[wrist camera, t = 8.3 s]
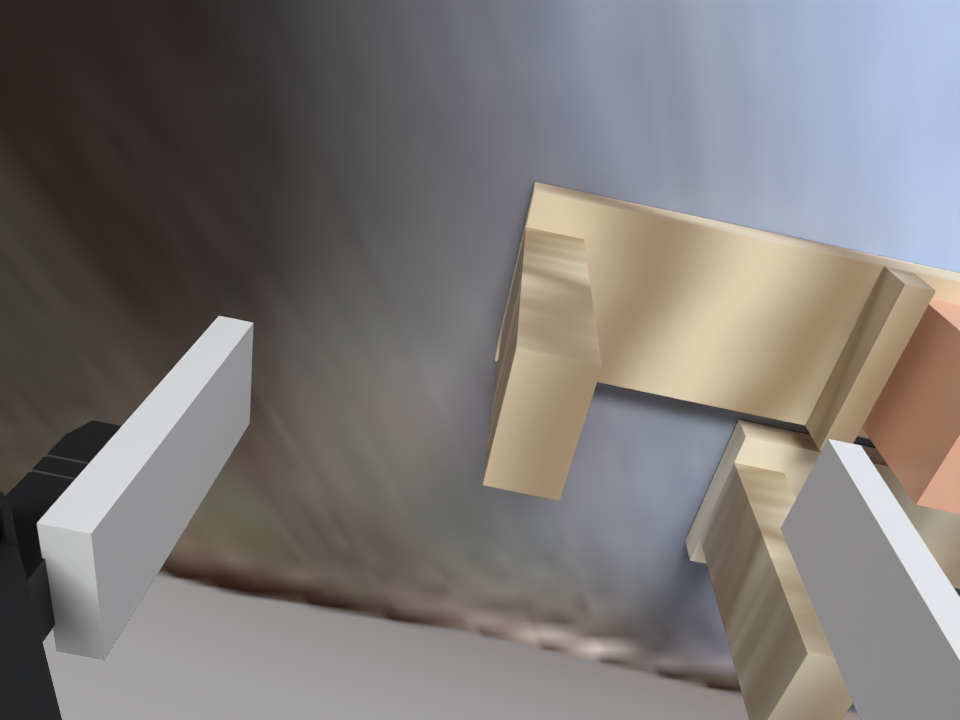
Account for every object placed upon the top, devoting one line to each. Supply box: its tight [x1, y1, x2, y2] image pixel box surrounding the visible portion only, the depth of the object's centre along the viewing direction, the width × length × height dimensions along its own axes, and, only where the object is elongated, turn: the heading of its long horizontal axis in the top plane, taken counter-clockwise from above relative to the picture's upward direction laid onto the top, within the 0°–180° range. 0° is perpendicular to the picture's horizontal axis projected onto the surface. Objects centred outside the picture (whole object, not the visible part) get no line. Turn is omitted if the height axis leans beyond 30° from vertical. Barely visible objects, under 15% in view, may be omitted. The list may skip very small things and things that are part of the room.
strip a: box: [483, 182, 960, 501], centre depth 22 cm, size 20×6×10 cm, turn 79°
